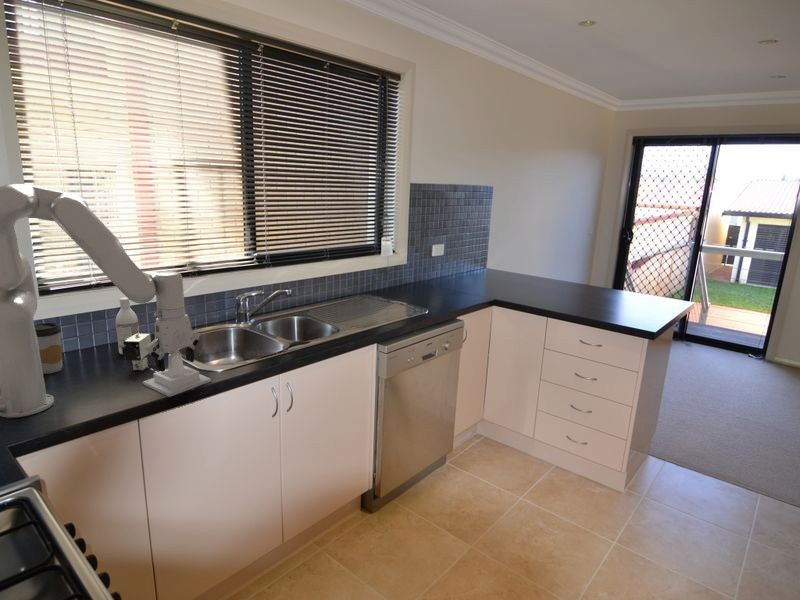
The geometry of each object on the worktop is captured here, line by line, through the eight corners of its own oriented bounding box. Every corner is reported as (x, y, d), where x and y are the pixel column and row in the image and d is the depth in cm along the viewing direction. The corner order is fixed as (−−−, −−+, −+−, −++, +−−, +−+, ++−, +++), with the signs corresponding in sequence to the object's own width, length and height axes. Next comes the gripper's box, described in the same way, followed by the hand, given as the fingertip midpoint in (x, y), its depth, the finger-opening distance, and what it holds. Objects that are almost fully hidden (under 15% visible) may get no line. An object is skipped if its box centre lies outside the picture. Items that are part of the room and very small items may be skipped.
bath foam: (142, 353, 175) (136, 299, 170) (120, 356, 171) (114, 301, 166) (139, 347, 181) (134, 295, 176) (118, 350, 177) (112, 297, 172)
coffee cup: (58, 363, 164) (51, 320, 160) (71, 368, 160) (65, 325, 156) (30, 371, 157) (22, 326, 153) (43, 377, 153) (36, 331, 149)
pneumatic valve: (155, 361, 168) (152, 328, 165) (139, 375, 157) (135, 340, 154) (139, 361, 168) (136, 328, 165) (121, 375, 156) (117, 339, 153)
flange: (169, 396, 143) (168, 385, 142) (142, 384, 151) (141, 373, 150) (210, 381, 154) (210, 371, 153) (184, 370, 162) (183, 360, 161)
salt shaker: (189, 380, 152) (186, 347, 149) (170, 385, 148) (167, 351, 146) (182, 375, 156) (179, 342, 153) (164, 379, 152) (161, 346, 149)
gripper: (150, 321, 138) (155, 377, 142) (204, 308, 152) (207, 360, 156) (136, 316, 142) (141, 371, 146) (189, 304, 156) (193, 355, 160)
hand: (175, 365), depth 151 cm, fingers open, 9 cm apart
